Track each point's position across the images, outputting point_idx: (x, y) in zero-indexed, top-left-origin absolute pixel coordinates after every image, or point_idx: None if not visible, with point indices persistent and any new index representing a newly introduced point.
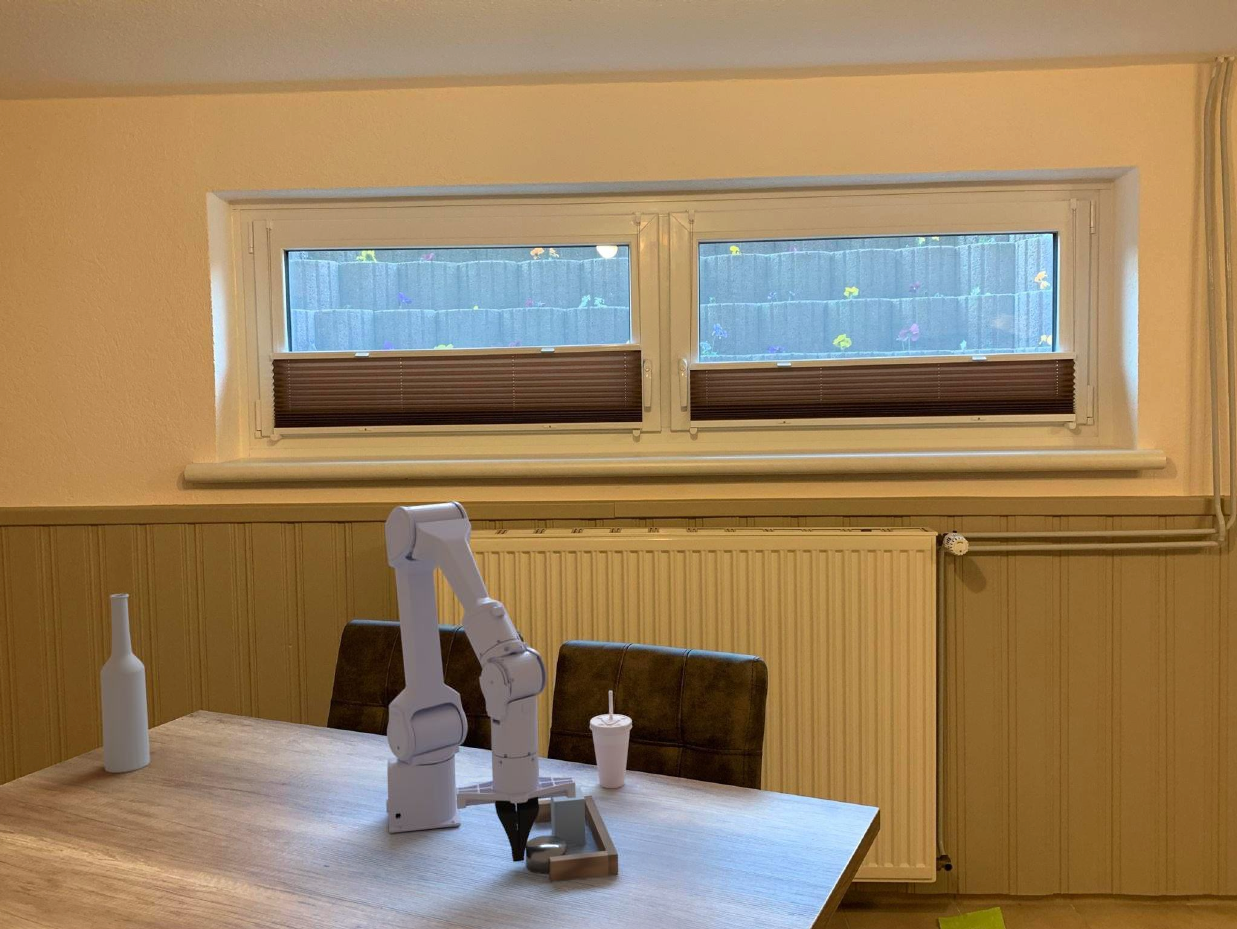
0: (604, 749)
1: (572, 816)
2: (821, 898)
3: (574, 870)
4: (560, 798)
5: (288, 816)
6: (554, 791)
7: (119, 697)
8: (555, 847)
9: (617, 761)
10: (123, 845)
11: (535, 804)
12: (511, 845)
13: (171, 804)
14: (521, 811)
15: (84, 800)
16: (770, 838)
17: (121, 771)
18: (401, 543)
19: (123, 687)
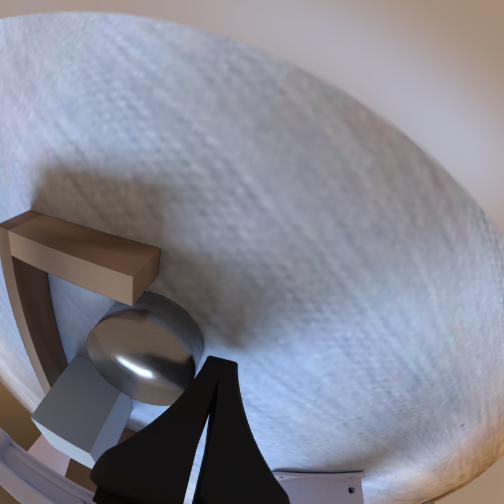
0: (48, 465)
1: (69, 406)
2: None
3: (89, 241)
4: (77, 451)
5: (409, 484)
6: (17, 480)
7: None
8: (111, 343)
9: (41, 445)
10: (497, 447)
11: (107, 488)
12: (239, 398)
13: (444, 485)
14: (174, 501)
15: (464, 481)
16: None
17: (430, 501)
18: None
19: None
